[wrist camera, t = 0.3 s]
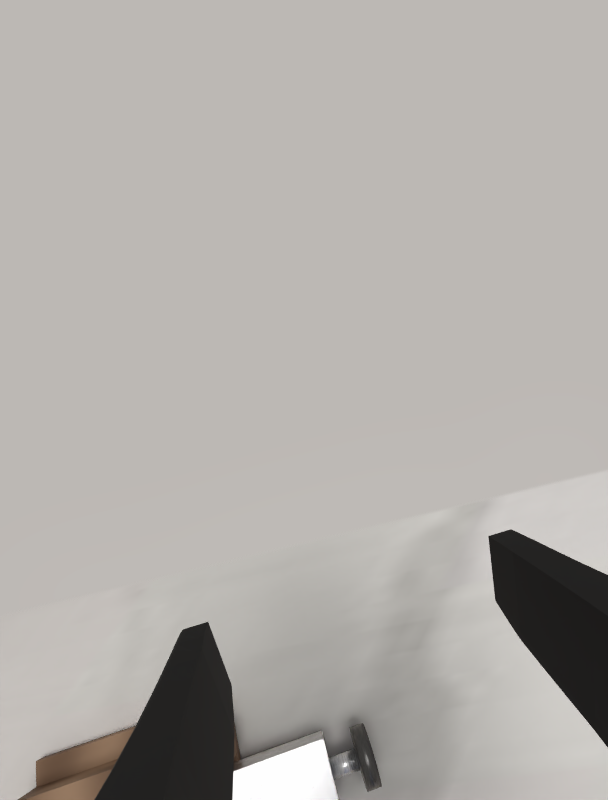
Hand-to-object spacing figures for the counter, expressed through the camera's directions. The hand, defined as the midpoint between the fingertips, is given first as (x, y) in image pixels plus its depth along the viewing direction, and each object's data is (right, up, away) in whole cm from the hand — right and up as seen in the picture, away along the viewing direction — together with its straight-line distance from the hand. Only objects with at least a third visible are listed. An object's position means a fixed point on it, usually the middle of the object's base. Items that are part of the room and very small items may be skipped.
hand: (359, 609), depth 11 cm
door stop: (-4, -22, +21) cm, 31 cm away
